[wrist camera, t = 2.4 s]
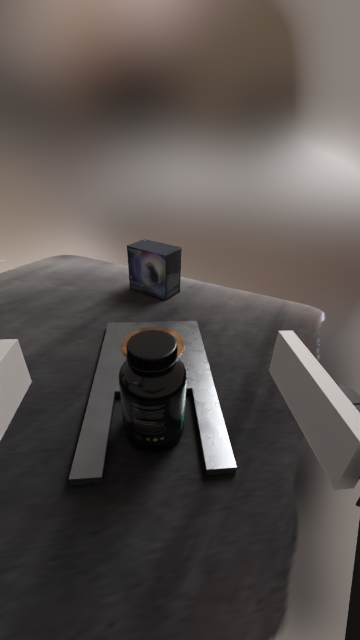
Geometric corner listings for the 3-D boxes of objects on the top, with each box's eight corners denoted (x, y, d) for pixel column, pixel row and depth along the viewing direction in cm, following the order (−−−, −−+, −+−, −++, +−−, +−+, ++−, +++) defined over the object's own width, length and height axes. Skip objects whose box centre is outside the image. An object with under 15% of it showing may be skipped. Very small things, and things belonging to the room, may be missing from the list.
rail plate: (235, 473, 28) (237, 466, 27) (70, 485, 26) (68, 478, 26) (196, 325, 52) (196, 320, 51) (108, 327, 50) (108, 321, 50)
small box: (128, 289, 65) (124, 244, 59) (145, 280, 69) (144, 238, 64) (164, 301, 60) (165, 254, 54) (181, 291, 65) (182, 246, 59)
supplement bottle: (196, 426, 32) (203, 342, 26) (152, 467, 28) (149, 378, 22) (155, 396, 36) (154, 317, 30) (112, 428, 32) (99, 342, 26)
